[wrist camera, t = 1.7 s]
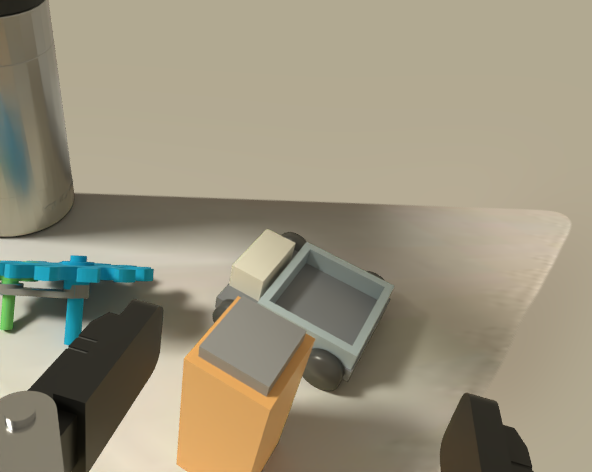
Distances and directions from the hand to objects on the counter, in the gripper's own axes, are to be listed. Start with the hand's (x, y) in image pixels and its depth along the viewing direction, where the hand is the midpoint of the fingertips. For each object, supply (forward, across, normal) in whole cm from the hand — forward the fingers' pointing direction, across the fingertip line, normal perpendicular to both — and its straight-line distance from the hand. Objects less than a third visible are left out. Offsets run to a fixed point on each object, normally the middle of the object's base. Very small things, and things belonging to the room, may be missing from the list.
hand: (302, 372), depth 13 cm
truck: (+23, +1, +15) cm, 27 cm away
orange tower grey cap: (+11, +3, +18) cm, 21 cm away
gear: (+17, +17, +16) cm, 29 cm away
